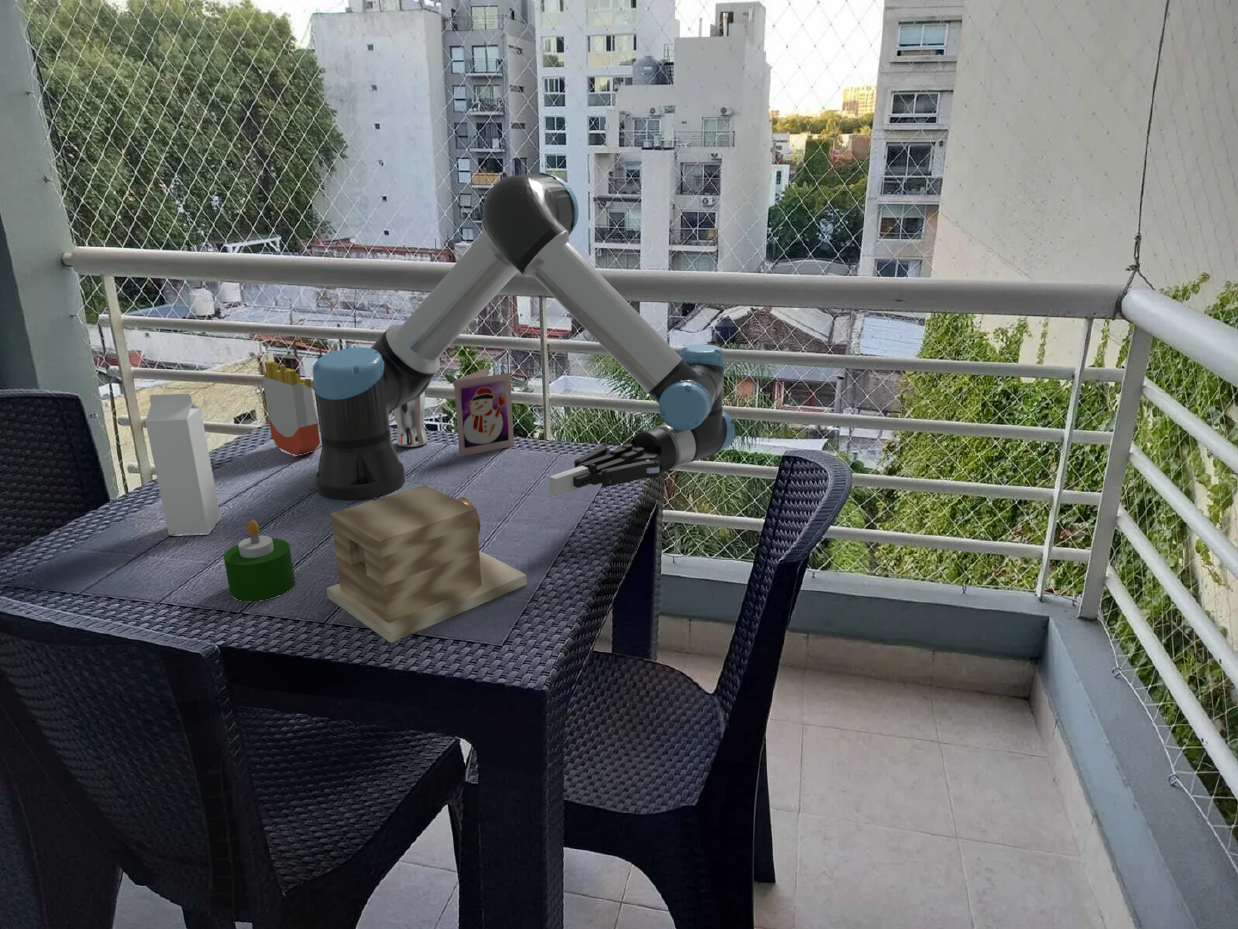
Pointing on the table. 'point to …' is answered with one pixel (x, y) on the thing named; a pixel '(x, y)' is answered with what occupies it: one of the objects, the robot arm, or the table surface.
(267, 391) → the french fries container
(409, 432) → the beer glass
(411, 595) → the press block
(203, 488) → the milk
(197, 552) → the table surface
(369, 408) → the robot arm
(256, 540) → the candle
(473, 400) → the greeting card
